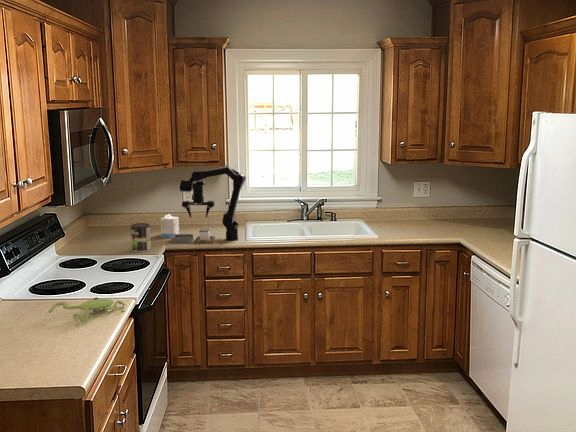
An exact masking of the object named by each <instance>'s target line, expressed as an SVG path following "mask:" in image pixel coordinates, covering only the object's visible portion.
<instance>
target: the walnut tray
mask: <svg viewBox="0 0 576 432" xmlns="http://www.w3.org/2000/svg"><path fill="white" fill-rule="evenodd" d="M215 237H216V236H215V235H210V240H200V235H197V236H196V238H195V240H194V244H213V243H214V241H215V239H216V238H215Z"/></svg>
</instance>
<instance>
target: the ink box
mask: <svg viewBox="0 0 576 432" xmlns="http://www.w3.org/2000/svg"><path fill="white" fill-rule="evenodd" d="M179 221H180V220H179V216H172V215H171V214H170V213H167V214H166V215H164V217H160V237H161V238H170V239H171V238H172V236H173V235H174V234H180V225H179V224H180V223H179Z"/></svg>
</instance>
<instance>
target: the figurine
mask: <svg viewBox="0 0 576 432" xmlns="http://www.w3.org/2000/svg"><path fill="white" fill-rule="evenodd" d="M113 304H114V306H113V307H114V308H115V309H116V308H117V304H119V305H121V304H122V305H124V306H125V305H126V303H124V302H123V301H121V300H116V301H115V302H114V300H113V299H109V298H99V297H94V298H93V299H89V300H87V301H84V302H82V303H80V304H78V305H68V302H65V301H64V302H63V301H62V302H57V303H53V304H52V306H51V308H50V309H49V310H48V313H49V314H51V313H52V312H53V311H54V310H55V309H56V307H60V306H62V308H63V309H65V310H75V309H76V310H77V309H80V310H84V311H85V316H84V319H82V317H81V316H80V315H79V313H77V312H75V313H73V314H72V317H73V319H74V320H75V321H76V323H77V324H79V322H78V319H77V317H78V318H79V320H80V322H81V323H82V322H85V323H86V321H88V319H89V316H90V312H89V311H95V310H96V311H97V310H100V309H101V308H103V309H104V310H105V311H106V310H112V308H108V307H109V306H110V307H111V306H112V305H113ZM122 305H121V306H122ZM121 306H120V307H119V310H120V309H121V310H122V309H124V307H123V306H122V307H121ZM121 310H120V311H121ZM96 311H95V312H96Z"/></svg>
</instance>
